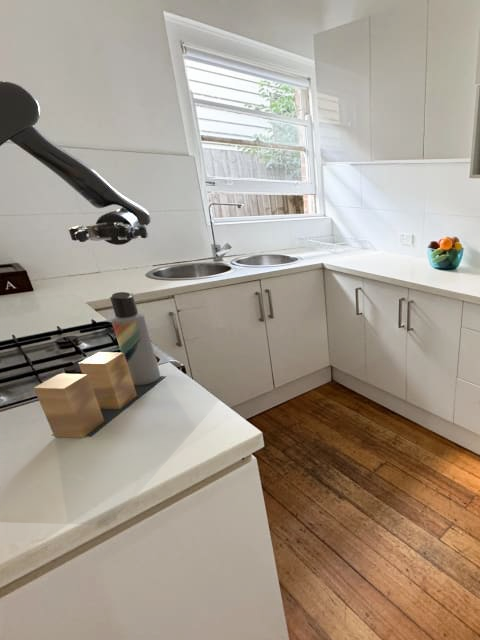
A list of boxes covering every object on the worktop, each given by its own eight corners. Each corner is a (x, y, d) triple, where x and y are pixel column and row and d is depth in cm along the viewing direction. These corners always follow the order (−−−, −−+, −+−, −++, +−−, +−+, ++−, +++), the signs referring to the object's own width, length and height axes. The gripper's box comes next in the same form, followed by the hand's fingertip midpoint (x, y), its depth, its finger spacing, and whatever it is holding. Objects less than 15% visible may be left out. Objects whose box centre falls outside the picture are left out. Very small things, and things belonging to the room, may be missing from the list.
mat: (92, 438, 67) (91, 436, 67) (52, 437, 67) (51, 435, 67) (167, 377, 87) (166, 376, 87) (136, 376, 87) (136, 375, 87)
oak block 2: (120, 409, 75) (105, 363, 71) (94, 408, 75) (78, 363, 71) (137, 395, 79) (123, 352, 75) (113, 395, 79) (98, 351, 75)
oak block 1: (83, 438, 67) (63, 388, 62) (54, 437, 66) (33, 387, 62) (104, 421, 71) (87, 374, 67) (78, 420, 71) (59, 373, 67)
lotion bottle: (150, 371, 89) (127, 288, 81) (166, 377, 87) (143, 292, 79) (124, 382, 84) (97, 295, 76) (140, 388, 82) (114, 299, 74)
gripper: (78, 212, 92) (57, 219, 79) (147, 211, 98) (138, 218, 85) (88, 243, 95) (69, 255, 82) (154, 241, 101) (147, 251, 88)
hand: (104, 236), depth 84 cm, fingers open, 8 cm apart
